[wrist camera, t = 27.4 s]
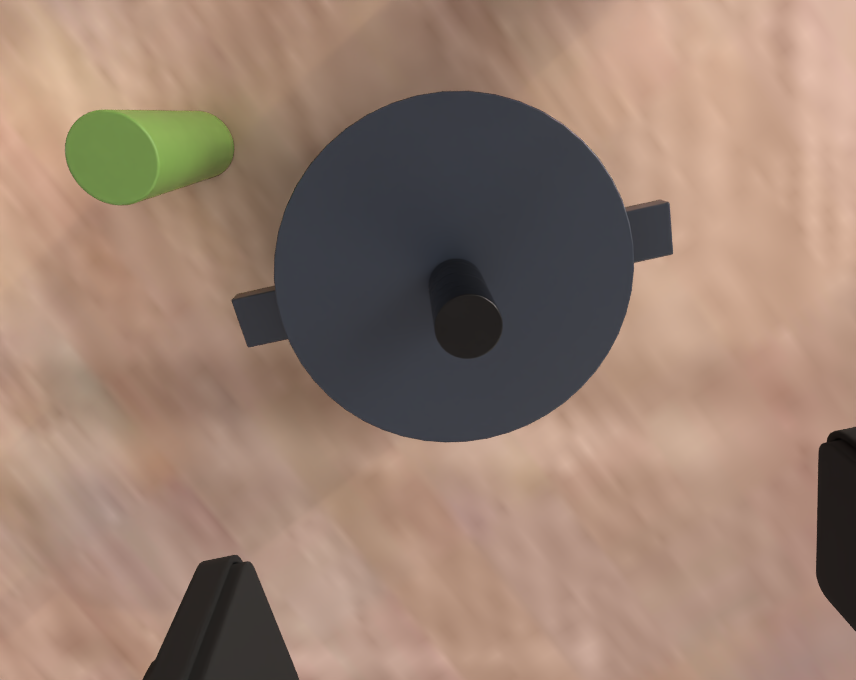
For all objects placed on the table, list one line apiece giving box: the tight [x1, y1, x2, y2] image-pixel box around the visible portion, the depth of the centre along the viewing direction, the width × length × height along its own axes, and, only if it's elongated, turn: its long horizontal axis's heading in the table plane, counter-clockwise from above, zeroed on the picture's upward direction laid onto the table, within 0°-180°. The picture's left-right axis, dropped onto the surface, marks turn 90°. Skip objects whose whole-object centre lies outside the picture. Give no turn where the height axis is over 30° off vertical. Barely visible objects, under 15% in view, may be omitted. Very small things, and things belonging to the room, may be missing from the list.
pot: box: [232, 200, 673, 347], centre depth 29 cm, size 15×20×6 cm
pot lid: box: [274, 91, 634, 442], centre depth 24 cm, size 16×16×7 cm
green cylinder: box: [65, 110, 234, 205], centre depth 25 cm, size 3×3×10 cm
